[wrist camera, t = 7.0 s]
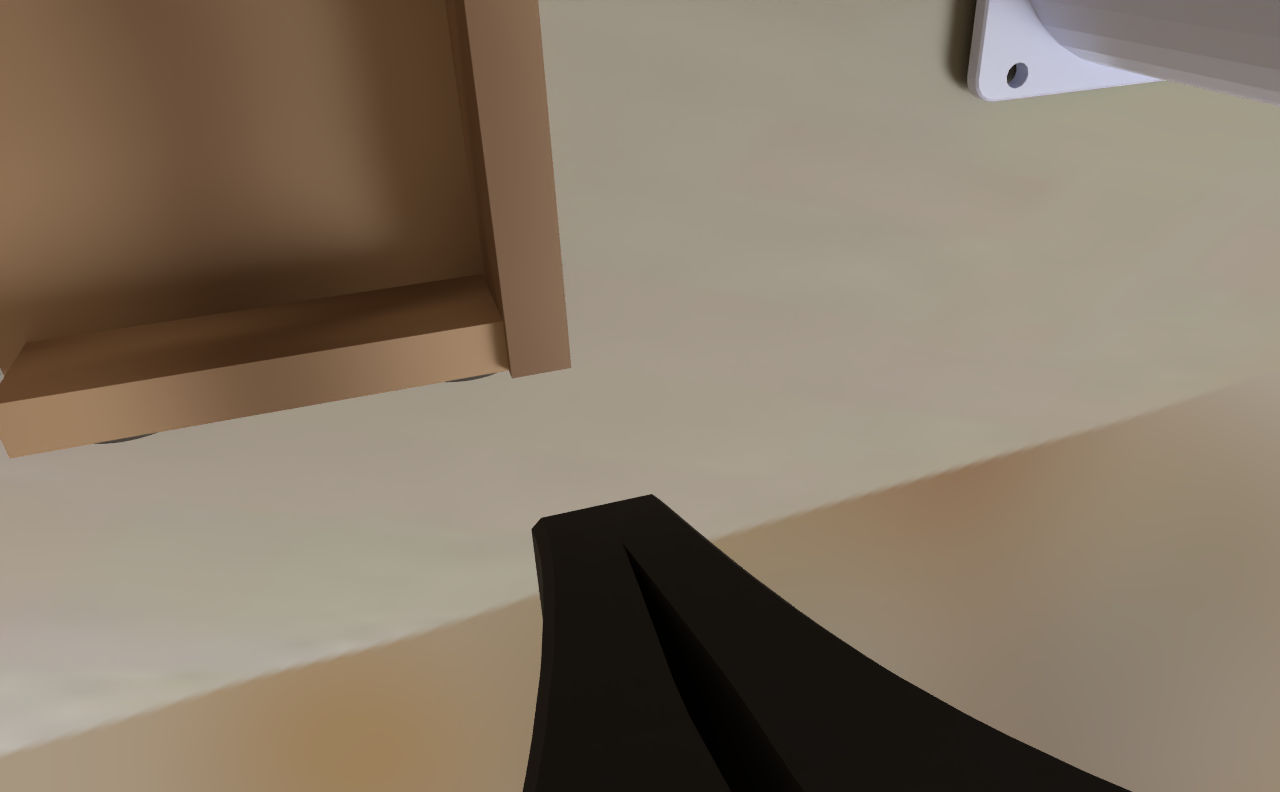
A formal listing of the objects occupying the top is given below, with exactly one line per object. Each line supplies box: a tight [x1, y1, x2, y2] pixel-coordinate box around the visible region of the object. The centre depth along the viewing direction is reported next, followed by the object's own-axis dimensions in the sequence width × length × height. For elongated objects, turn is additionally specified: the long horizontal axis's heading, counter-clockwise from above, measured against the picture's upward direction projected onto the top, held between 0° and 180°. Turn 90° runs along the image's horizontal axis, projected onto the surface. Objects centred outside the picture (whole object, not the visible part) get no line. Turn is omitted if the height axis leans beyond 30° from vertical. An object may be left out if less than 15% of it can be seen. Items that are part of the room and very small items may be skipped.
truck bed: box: [0, 0, 571, 458], centre depth 14 cm, size 9×11×4 cm
